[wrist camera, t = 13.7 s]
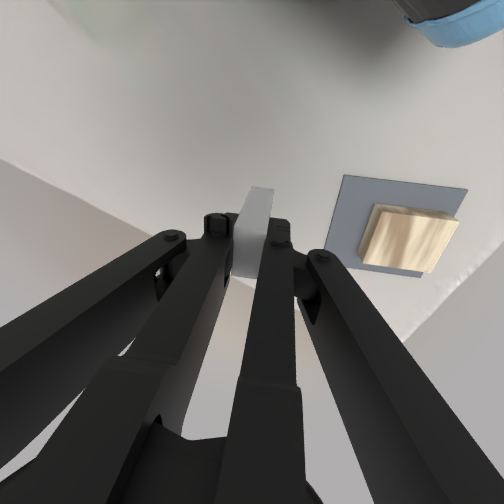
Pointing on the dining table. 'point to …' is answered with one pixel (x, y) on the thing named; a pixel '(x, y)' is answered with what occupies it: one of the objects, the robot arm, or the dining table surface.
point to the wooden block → (406, 237)
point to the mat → (360, 208)
